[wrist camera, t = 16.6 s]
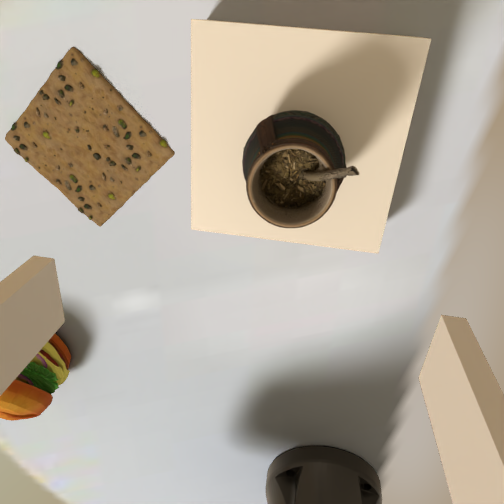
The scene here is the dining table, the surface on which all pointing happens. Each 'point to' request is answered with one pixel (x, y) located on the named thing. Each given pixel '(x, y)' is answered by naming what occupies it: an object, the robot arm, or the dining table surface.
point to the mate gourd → (294, 168)
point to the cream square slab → (302, 99)
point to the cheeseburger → (36, 382)
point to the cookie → (87, 139)
